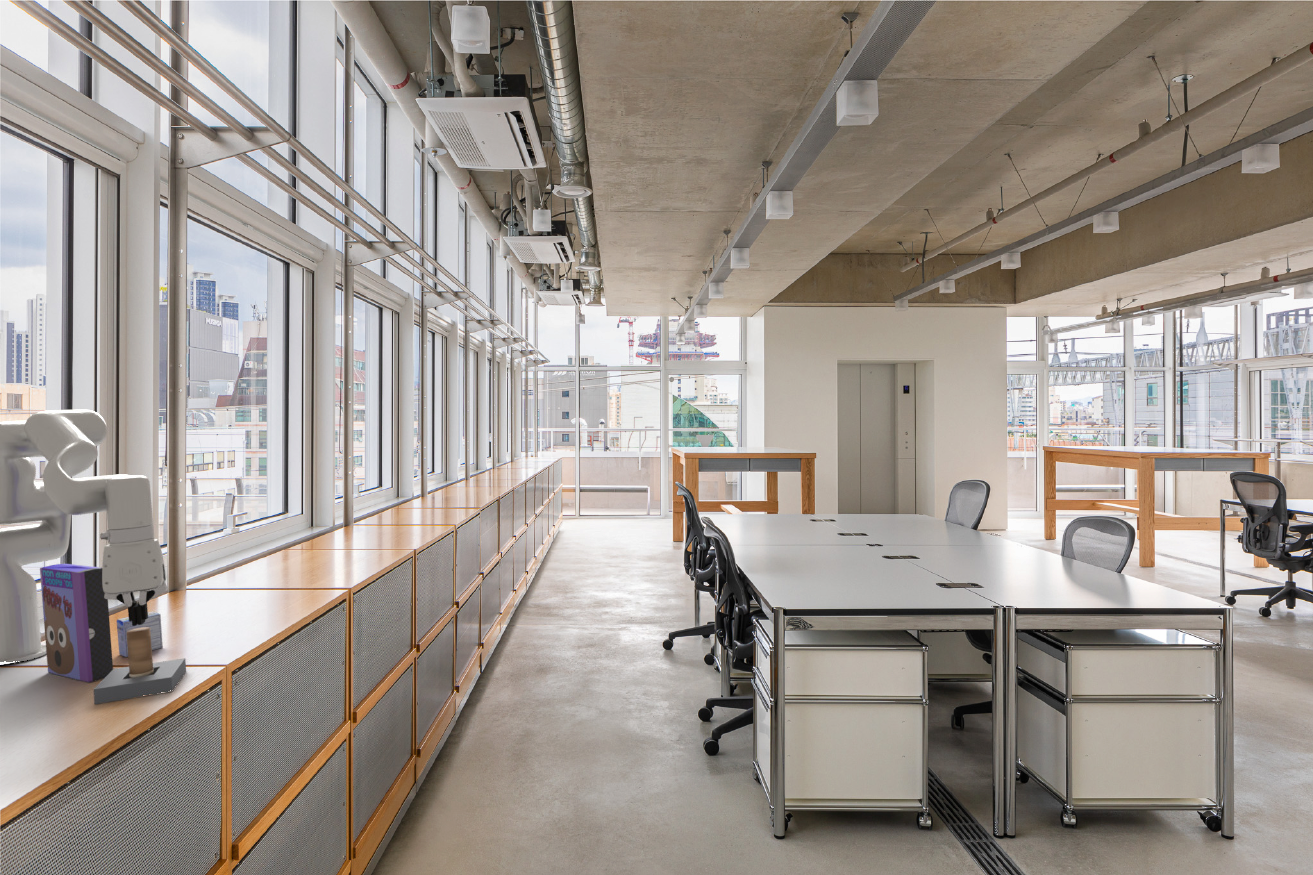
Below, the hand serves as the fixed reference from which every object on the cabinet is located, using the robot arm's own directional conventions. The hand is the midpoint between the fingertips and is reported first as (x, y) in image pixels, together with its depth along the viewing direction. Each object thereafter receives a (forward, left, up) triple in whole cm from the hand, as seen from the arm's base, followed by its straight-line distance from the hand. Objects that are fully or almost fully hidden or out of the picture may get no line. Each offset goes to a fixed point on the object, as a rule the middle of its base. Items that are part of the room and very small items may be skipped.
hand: (138, 623), depth 151 cm
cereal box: (-18, -16, -14) cm, 27 cm away
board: (0, 0, -13) cm, 13 cm away
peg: (0, 0, -13) cm, 13 cm away
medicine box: (-31, -7, -14) cm, 34 cm away
